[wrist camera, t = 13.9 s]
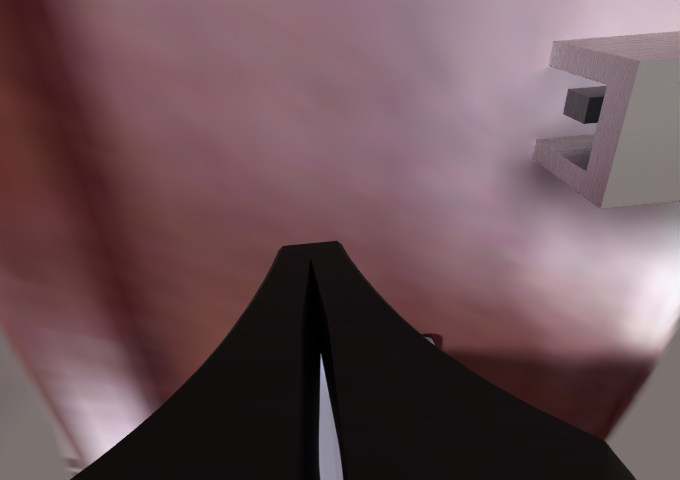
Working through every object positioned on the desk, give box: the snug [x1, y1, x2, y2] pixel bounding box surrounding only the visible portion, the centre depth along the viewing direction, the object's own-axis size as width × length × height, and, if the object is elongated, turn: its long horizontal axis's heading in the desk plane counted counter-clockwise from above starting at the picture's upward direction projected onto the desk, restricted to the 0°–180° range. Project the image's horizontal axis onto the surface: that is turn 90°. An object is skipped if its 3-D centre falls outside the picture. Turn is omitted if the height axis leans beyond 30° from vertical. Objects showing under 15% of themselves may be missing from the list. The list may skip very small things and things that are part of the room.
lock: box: [533, 31, 680, 209], centre depth 16 cm, size 8×5×5 cm, turn 93°
